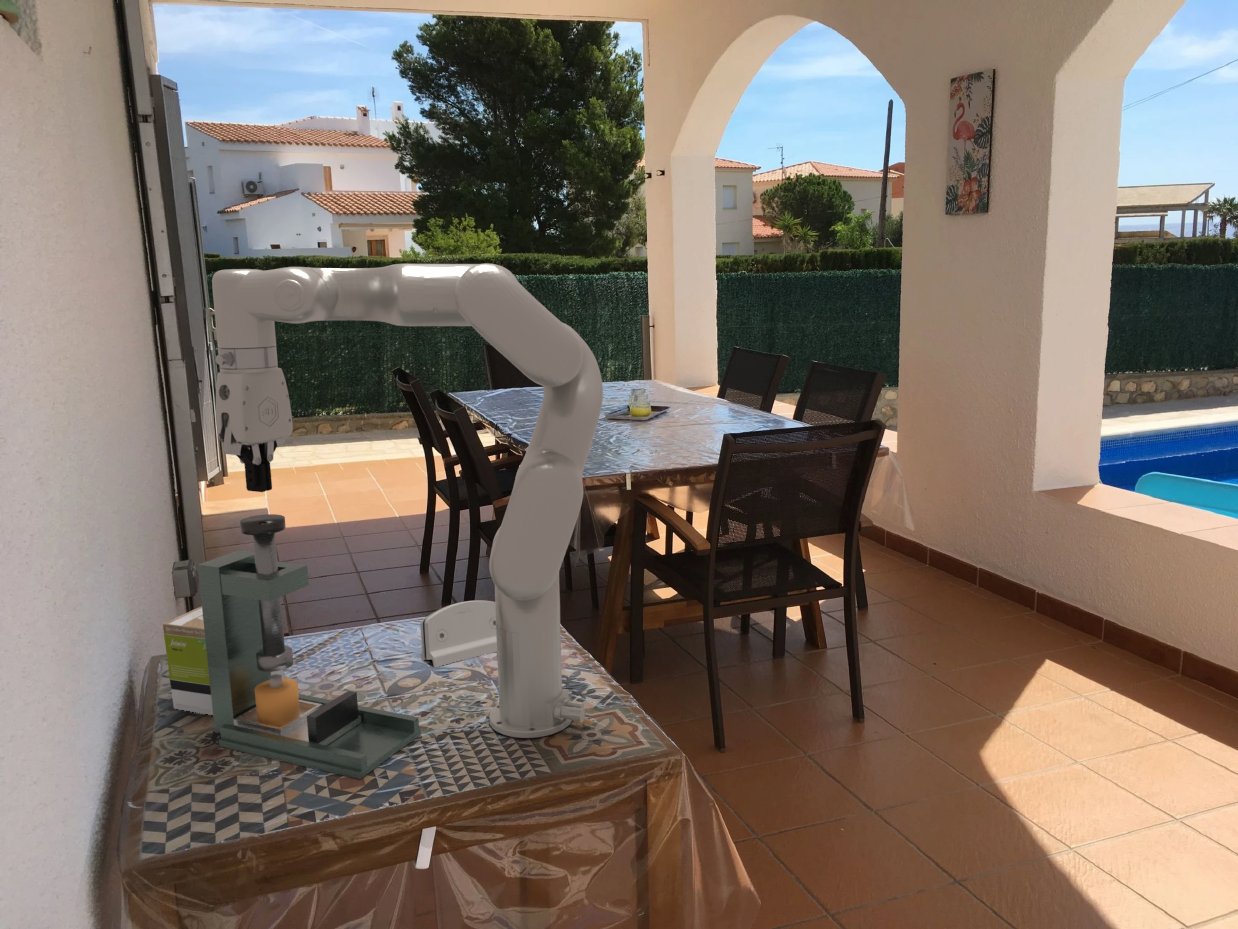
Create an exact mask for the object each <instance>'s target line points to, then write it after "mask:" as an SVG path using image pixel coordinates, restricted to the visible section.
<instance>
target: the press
mask: <svg viewBox="0 0 1238 929" xmlns="http://www.w3.org/2000/svg"><path fill="white" fill-rule="evenodd" d="M277 562H278V571H277V572H274V573H272V574H269V575H263V574H256V567H255V556H254V551H251V550H250V551H249V550H244V549H243V550H241V549H239V550H236V551H235V550H234V551H233V552H230V553H227V554H224V555H221V556H219V557H216V558H212V559H210V560H207V561H203V562H202V563H199V564H197V571H198V580H199V581H198V582H199V591H200V592H199V593H200V600H201V602H200V603H201V606H202V612H203V621H204V631H205V641H206V651H207V660H208V670H209V680H210V690H211V699H212V709H213V716H212V717H213V726H214V733H215V734H219V733H220V734H219V735H220V739H219V740H218V743H219V744H218V745H219V747H220V748H225V749H230V750H233V751H237V752H242V753H247V754H250V755H255V756H259V757H264V758H269V759H271V760H276V761H280V762H285V763H289V764H293V765H297V766H298V765H299V766H302V767H307V768H309V769H310V768H311V769H315V770H319V771H323V772H328V773H332V774H336V775H340V776H344V777H348V778H353V779H358V780H362V779H363V778H364V777H366V776H367V775H369V773H371V772H373V771H374V770H375V769H376V768H378V767H379V766H380V765H381V763H382V764H383V763H385V762H386V761H387V760H388V759H389V758H391V757H392V756H394V755H395V754H397V752H399V751H400V750H402V749H403V748H404V747H405V746H407V745H408V744H410V743H411V742H412V741H414V740H415V739H416V738H418V737H419V736H421V735H422V728H421V727H420V722H419V721H420V719H419V716H418V717H417V716H414V715H407V714H402V713H399V712H394V711H388V710H383V709H378V708H373V707H367V706H362V705H358V716H361V723H359V724H358V725H356V726H355V727H353V728H352V729H350V730H349V731H347V732H346V733H344V734H343V735H341V736H340V737H338V738H337V739H335V740H334V741H332V742H331V743H329V744H328V745H326V746H325V745H321V744H316V743H312V742H307V741H303V740H298V739H294V738H289V737H285V736H280V735H276V734H271V733H267V732H262V731H258V730H253V729H248V728H244V727H239V726H235V725H234V720H233V719H235V718H237V717H238V716H240V715H242V714H244V713H246V712H247V711H249V710H251V709H253V708H255V707H256V700H255V687H256V686H257V685H259V684H260V683H262V682H265V681H268V680H269V677H270V676H271V672H264V671H260V670H258V668H257V659H256V653H257V652H258V651H260V650H262V649H263V644H262V633H261V622H260V611H259V600H264V601H272V600H275V599H277V598H279V597H284V596H286V595H289V594H291V593H293V592H296V591H298V590H300V589H303V588H305V587H307V586H309V585H310V584H309V582H310V581H309V571H308V565H307V564H299V563H293V562H284V561H278V560H277ZM298 694H299V700H303V701H308V702H313V703H318V704H322V706H324V705H326V704H327V703H329V702H331V701H332V700H333V699H332V700H331V699H327V698H322V697H316V696H311V695H306V694H302V693H298ZM385 760H386V761H385Z"/></svg>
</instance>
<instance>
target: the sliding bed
mask: <svg viewBox="0 0 1238 929" xmlns="http://www.w3.org/2000/svg"><path fill="white" fill-rule="evenodd" d="M358 703H359V702H358V692H356V691H353V690H347V691H346V692H344V693H342V694H340V695H339V696H337V697H336V698H334V699H332V701H331V702H329V703H327V704H326V705H324V706H322V704H318V703H313V702H308V701H303V700H299V706H300V716H298V717H297V718H295V719H293V720H292V721H290V722H288V723H287V724H285V725H283V726H279V727H276V726H272V725H267V724H262V723H258V721H257V711H256V707H255V708H253V709H251V710H249V711H247V712H246V713H244V714H242V715H240V716H238V717H237V718H235V719H233V720H234V725H235V726H239V727H244V728H248V729H253V730H258V731H262V732H267V733H271V734H276V735H280V736H285V737H289V738H294V739H298V740H303V741H307V742H312V743H316V744H321V745H325V746H326V745H328V744H329V743H331V742H332V741H334V740H335V739H337V738H338V737H340V736H341V735H343V734H344V733H346V732H347V731H349V730H350V729H352V728H353V727H355V726H356V725H358V724H359V723H361V716H358V706H359V704H358Z"/></svg>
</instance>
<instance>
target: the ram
mask: <svg viewBox="0 0 1238 929" xmlns="http://www.w3.org/2000/svg"><path fill="white" fill-rule="evenodd" d="M285 518H286V517H285V515H281V514H276V513H275V514H274V513H273V514H271V513H270V514H257V515H253V516H252V515H251V516H247V517H244V518H242V519H240V520H239V526H240V527H239V528H240V533H241V534H242V535H247V536H252V541H253V542H252V543H253V552H254V556H255V567H256V574H263V575H269V574H272V573H274V572H277V571H278V562H279V561H278V553H277V542H276V540H277V539H276V534H277V533H279V532H282V531H284V530H285V529H286V528H287V527H286V519H285ZM277 561H278V562H277ZM259 611H260V622H261V633H262V644H263V649H262V650H260V651H258V652H257V653H256V659H257V668H258V670H260V671H264V672H273V671H280V670H283V669H284V670H286V669H289V668H290V667H292V666H293V665H294V654H293V648H292V647H291V646H288V645H285V634H284V623H283V612H282V599H281V597H279V598H277V599H275V600H272V601H264V600H259Z"/></svg>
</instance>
